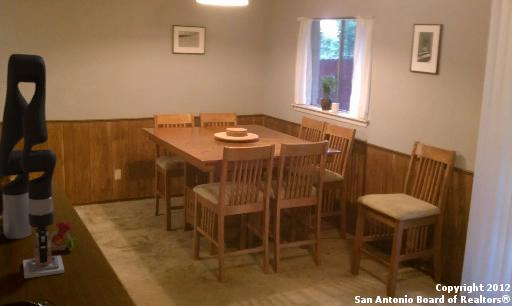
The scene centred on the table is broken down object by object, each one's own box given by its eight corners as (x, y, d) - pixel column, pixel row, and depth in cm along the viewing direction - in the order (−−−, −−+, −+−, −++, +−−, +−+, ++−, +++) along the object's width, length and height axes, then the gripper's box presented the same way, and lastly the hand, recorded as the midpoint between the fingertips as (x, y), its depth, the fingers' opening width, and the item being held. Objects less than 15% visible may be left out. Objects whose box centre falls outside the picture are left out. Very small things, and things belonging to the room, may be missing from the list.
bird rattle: (56, 259, 182) (80, 247, 184) (41, 233, 179) (66, 221, 181) (57, 252, 188) (80, 241, 190) (42, 227, 184) (67, 216, 186)
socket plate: (23, 263, 173) (22, 258, 172) (60, 258, 178) (60, 253, 178) (24, 278, 162) (24, 272, 162) (64, 272, 167) (64, 267, 167)
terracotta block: (34, 260, 171) (33, 243, 170) (50, 258, 173) (49, 241, 172) (35, 266, 166) (34, 248, 165) (51, 263, 169) (51, 246, 167)
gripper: (27, 204, 171) (29, 252, 174) (29, 218, 158) (31, 269, 162) (51, 202, 174) (53, 249, 177) (55, 215, 161) (57, 265, 165)
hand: (43, 258), depth 169 cm, fingers open, 5 cm apart
